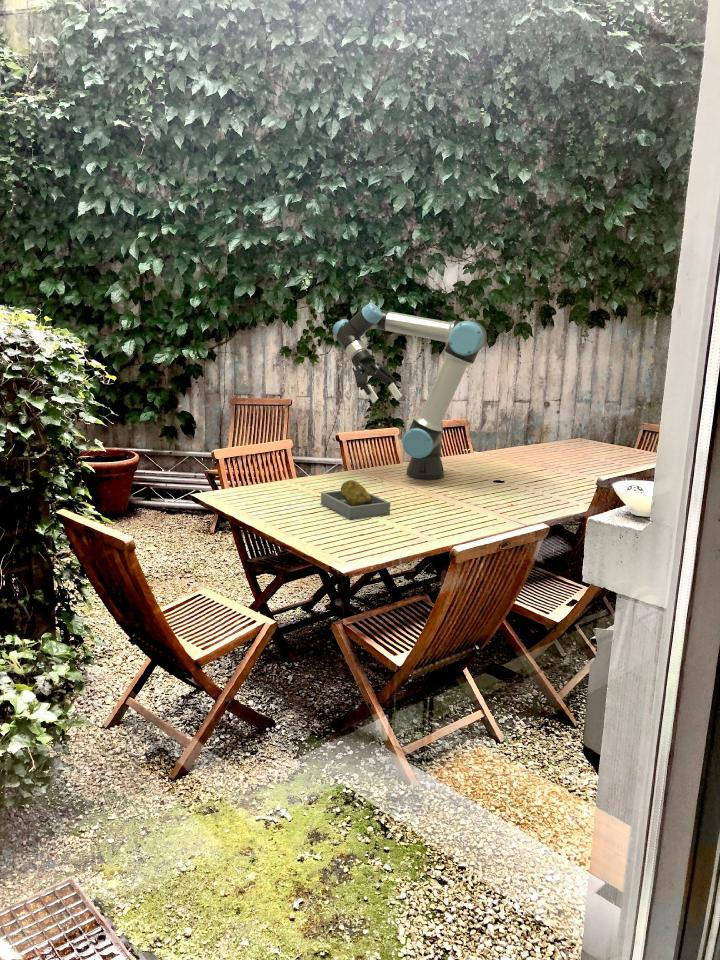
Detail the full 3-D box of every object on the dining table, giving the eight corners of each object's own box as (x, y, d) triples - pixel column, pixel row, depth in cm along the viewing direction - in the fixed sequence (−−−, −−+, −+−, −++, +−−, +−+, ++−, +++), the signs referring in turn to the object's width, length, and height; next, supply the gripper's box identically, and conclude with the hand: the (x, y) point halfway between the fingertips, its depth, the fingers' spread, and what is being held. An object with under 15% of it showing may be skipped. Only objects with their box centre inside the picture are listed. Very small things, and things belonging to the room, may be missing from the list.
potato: (349, 512, 228) (350, 488, 226) (337, 501, 240) (338, 478, 238) (373, 510, 231) (374, 487, 229) (360, 500, 242) (361, 477, 241)
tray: (320, 504, 240) (321, 492, 239) (358, 499, 247) (359, 488, 246) (350, 519, 223) (350, 507, 222) (389, 514, 231) (390, 502, 230)
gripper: (375, 361, 278) (403, 403, 272) (330, 363, 260) (359, 408, 254) (386, 348, 273) (414, 391, 267) (341, 349, 255) (371, 395, 249)
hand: (387, 399), depth 261 cm, fingers open, 13 cm apart
